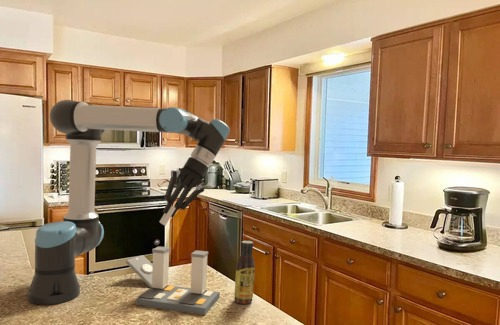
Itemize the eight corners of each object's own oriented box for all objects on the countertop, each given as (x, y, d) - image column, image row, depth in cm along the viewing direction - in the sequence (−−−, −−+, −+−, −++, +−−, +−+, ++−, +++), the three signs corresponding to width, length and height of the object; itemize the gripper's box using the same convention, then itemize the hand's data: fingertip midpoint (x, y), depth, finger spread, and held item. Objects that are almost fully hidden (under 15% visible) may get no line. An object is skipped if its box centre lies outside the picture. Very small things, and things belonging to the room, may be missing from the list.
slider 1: (150, 287, 126) (152, 249, 125) (157, 283, 130) (158, 246, 130) (162, 289, 125) (164, 250, 124) (168, 284, 129) (170, 247, 129)
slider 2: (189, 292, 122) (191, 253, 122) (194, 288, 127) (196, 250, 126) (202, 294, 121) (203, 255, 121) (206, 289, 126) (208, 251, 125)
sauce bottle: (238, 306, 119) (241, 244, 119) (230, 299, 125) (233, 240, 124) (256, 303, 122) (259, 243, 122) (248, 296, 128) (250, 239, 127)
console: (136, 304, 117) (136, 297, 117) (157, 289, 131) (157, 282, 131) (205, 314, 112) (205, 306, 112) (219, 297, 126) (219, 290, 126)
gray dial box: (152, 283, 132) (127, 257, 138) (146, 296, 133) (121, 270, 139) (168, 276, 139) (144, 252, 145) (162, 288, 141) (138, 264, 147)
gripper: (187, 152, 119) (147, 216, 114) (218, 172, 125) (182, 235, 120) (180, 151, 126) (142, 212, 121) (210, 170, 131) (175, 230, 127)
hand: (162, 223), depth 120 cm, fingers closed
